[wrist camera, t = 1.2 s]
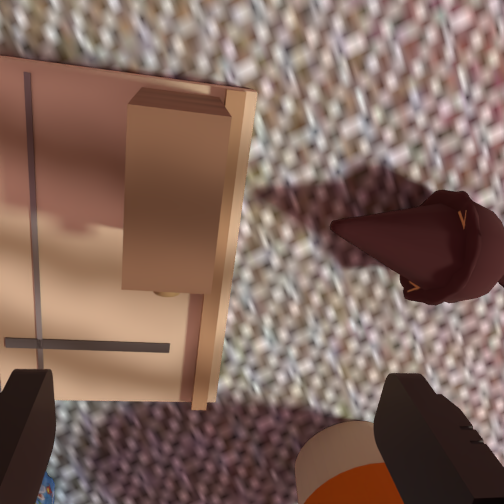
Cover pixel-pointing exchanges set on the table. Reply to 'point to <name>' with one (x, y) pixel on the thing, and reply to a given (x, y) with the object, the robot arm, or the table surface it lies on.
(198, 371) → the board
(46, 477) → the snack cup
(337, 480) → the reusable coffee cup
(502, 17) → the table surface
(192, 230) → the block
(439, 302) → the icecream
